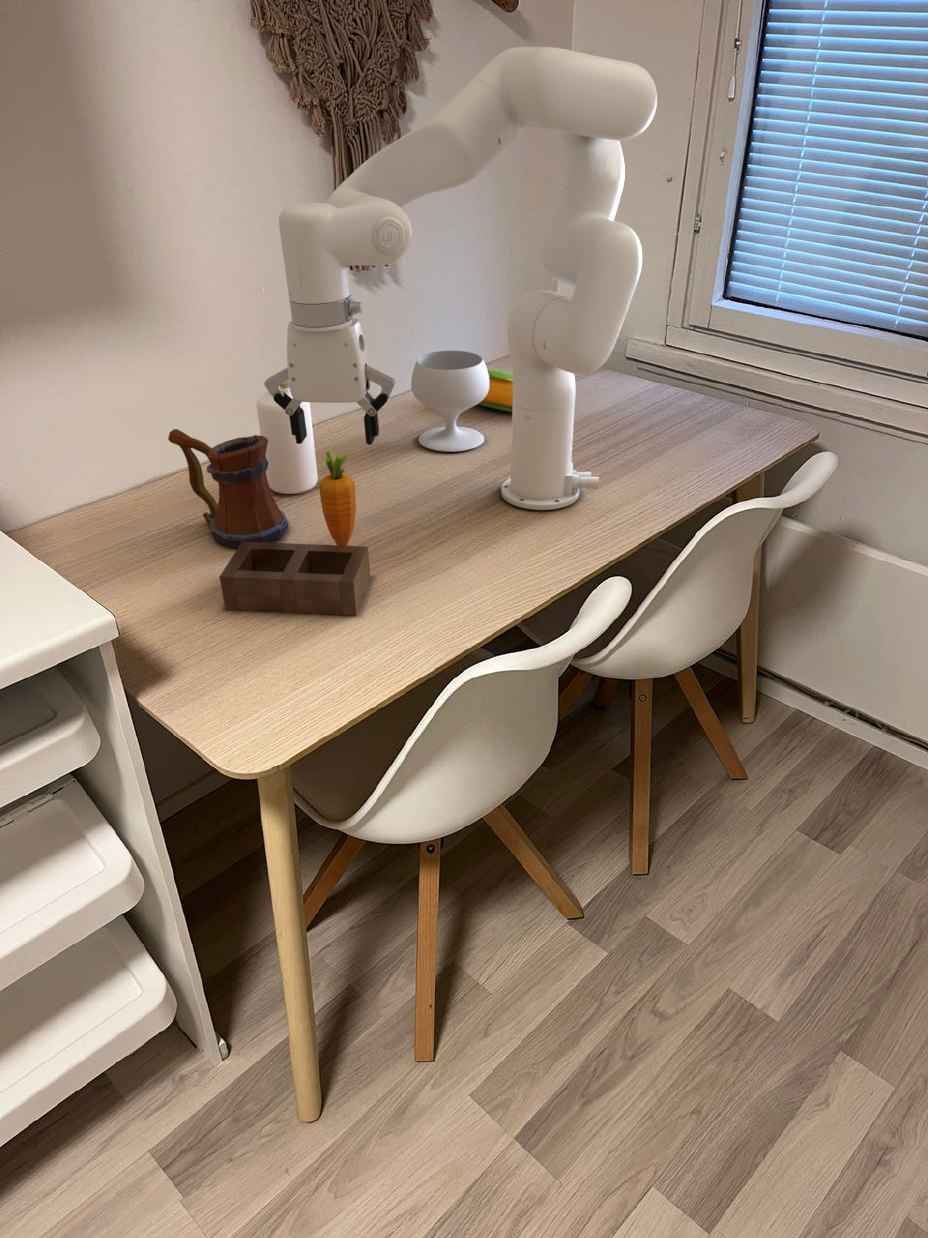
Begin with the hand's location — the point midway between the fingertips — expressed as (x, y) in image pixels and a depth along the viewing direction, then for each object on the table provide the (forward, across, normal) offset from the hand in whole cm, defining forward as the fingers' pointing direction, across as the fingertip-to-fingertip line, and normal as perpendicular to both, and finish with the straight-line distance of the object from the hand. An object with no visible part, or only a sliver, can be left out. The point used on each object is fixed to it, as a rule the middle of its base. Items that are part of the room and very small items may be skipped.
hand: (336, 440), depth 122 cm
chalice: (+18, -10, -42) cm, 47 cm away
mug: (+16, +19, -4) cm, 25 cm away
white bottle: (+17, +14, -20) cm, 30 cm away
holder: (+16, +4, +14) cm, 21 cm away
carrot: (+17, +1, +1) cm, 17 cm away
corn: (+18, -19, -60) cm, 66 cm away
